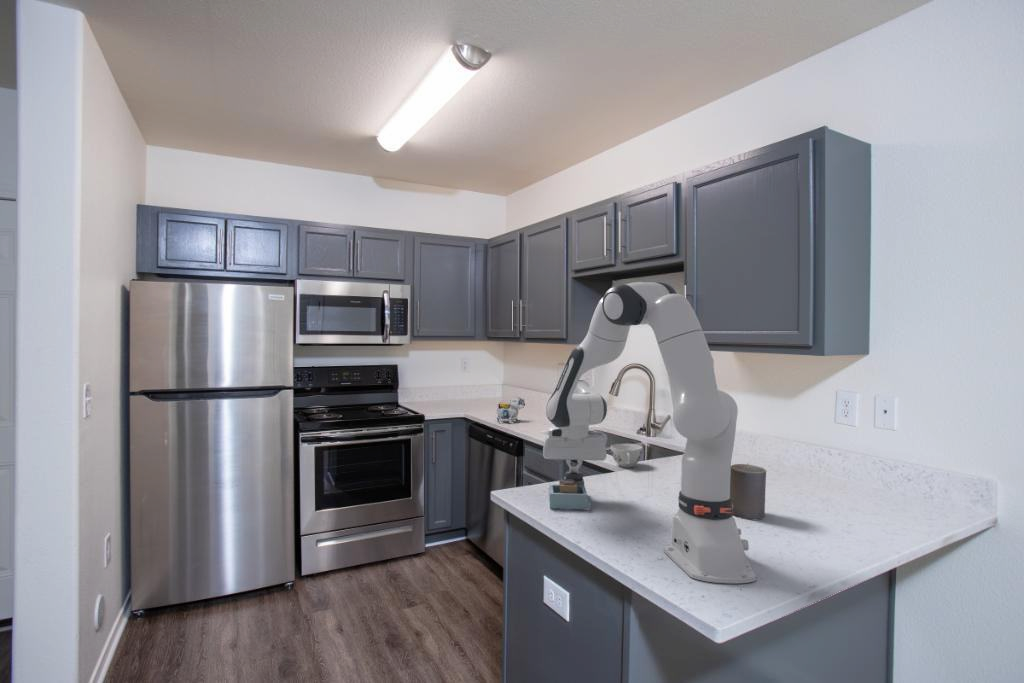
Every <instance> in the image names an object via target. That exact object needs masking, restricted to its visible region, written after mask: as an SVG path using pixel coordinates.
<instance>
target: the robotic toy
mask: <svg viewBox="0 0 1024 683" xmlns="http://www.w3.org/2000/svg"><path fill="white" fill-rule="evenodd" d="M504 400H505V399H504ZM504 400H502V401H504ZM502 401H500V402H499V404H498V405H497V407H498V408H497V409H496V412H497V416H496V419H497V421H498V420H499V421H498V423H499V424H501V423H503V424H504V421H505V420H507V421H508V423H509V424H510V423H513V424H514V422H513V421H515V422H516V423H520V422H522V420H521V419H518V415H519V410H521V409H523V408H524V407H525V406H526V403H525V399H522V398H521V397H518V396H515V397H512V398H511V399H510V403H506V401H505V402H502Z"/></svg>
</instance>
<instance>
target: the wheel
mask: <svg viewBox="0 0 1024 683" xmlns="http://www.w3.org/2000/svg"><path fill="white" fill-rule="evenodd" d="M564 474H565V476H564V477H565V478H566V479H573V480H575V481H577V480H582V479H583V480H584V472H582V471H579V474H572V473H569V471H565V473H564Z"/></svg>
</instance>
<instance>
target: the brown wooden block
mask: <svg viewBox="0 0 1024 683" xmlns="http://www.w3.org/2000/svg"><path fill="white" fill-rule="evenodd" d="M558 485H559V493H573V494H577V484H576V481H573V479H564V478H563V479H562V480H560V479H559V484H558Z"/></svg>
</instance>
